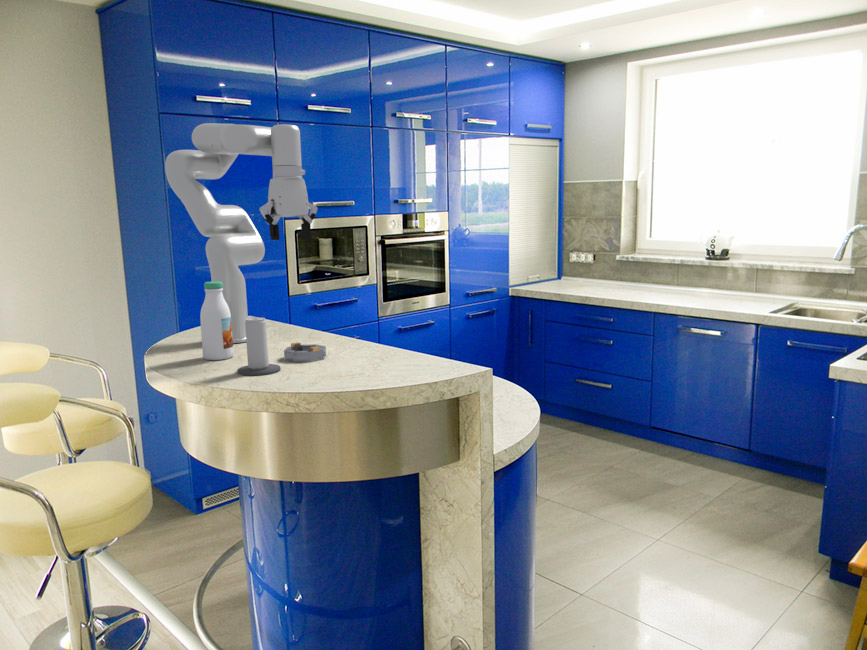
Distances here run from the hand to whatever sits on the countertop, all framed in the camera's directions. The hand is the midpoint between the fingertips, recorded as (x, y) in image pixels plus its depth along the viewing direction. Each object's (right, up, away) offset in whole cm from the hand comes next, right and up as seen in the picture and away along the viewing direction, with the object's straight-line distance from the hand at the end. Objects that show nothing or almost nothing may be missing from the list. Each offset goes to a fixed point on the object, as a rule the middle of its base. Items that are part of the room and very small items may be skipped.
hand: (291, 239), depth 183 cm
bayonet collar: (+5, -31, -5) cm, 32 cm away
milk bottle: (-19, -32, -3) cm, 37 cm away
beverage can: (-4, -34, -19) cm, 39 cm away
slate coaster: (-4, -34, -19) cm, 39 cm away
